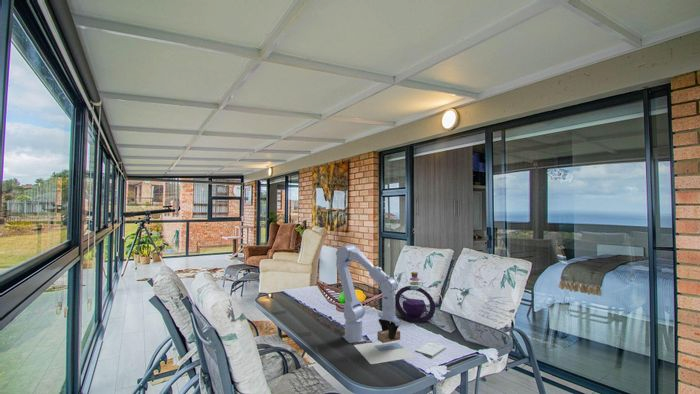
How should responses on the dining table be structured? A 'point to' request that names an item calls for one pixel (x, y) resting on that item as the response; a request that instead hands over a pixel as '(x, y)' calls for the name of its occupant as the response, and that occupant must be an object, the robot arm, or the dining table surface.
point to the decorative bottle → (414, 303)
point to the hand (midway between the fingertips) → (388, 337)
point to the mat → (383, 352)
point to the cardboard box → (387, 336)
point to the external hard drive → (431, 349)
